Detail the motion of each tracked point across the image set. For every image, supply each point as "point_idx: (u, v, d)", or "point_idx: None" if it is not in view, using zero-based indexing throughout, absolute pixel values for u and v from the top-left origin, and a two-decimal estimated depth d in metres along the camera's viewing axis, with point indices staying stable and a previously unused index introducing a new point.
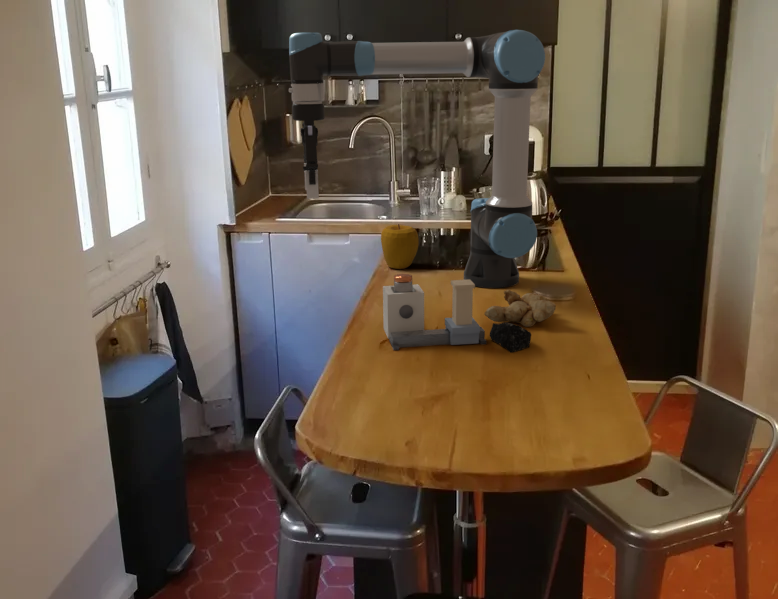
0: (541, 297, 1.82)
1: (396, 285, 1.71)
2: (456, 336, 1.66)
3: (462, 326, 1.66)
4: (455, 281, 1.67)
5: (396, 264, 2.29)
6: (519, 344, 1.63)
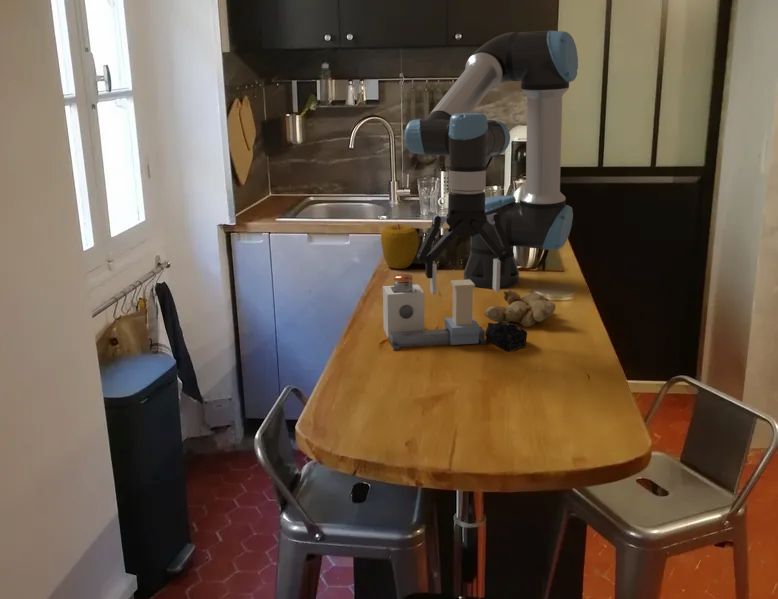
0: (541, 297, 1.82)
1: (396, 285, 1.71)
2: (456, 336, 1.66)
3: (462, 326, 1.66)
4: (455, 281, 1.67)
5: (396, 264, 2.29)
6: (515, 344, 1.64)
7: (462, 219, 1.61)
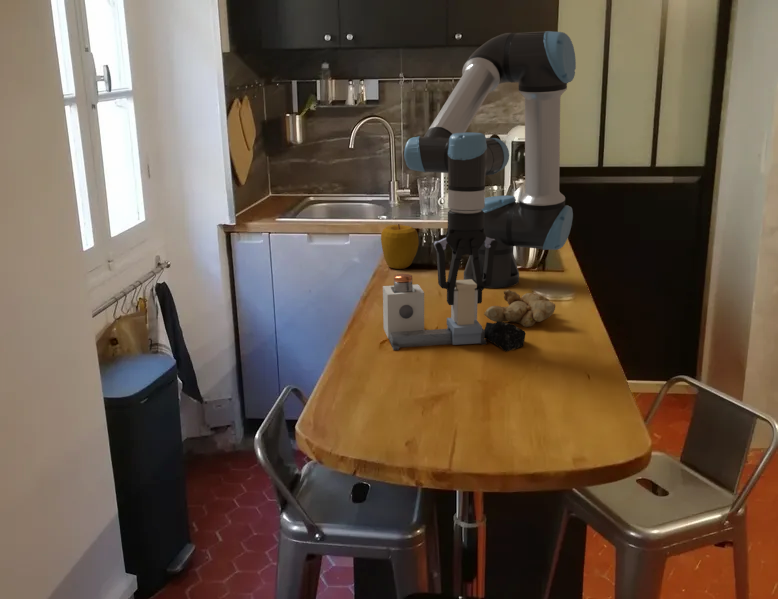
0: (541, 297, 1.82)
1: (396, 285, 1.71)
2: (458, 336, 1.66)
3: (464, 326, 1.66)
4: (457, 281, 1.67)
5: (396, 264, 2.29)
6: (513, 343, 1.64)
7: (460, 233, 1.62)
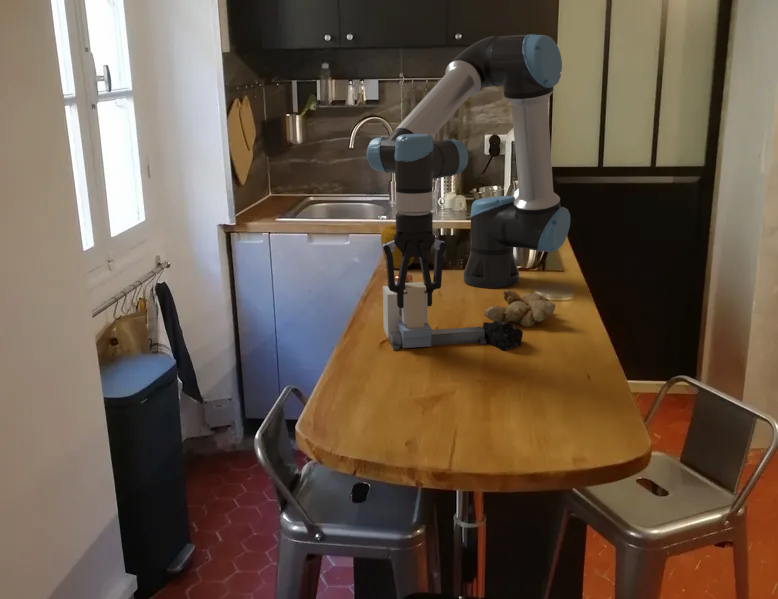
0: (541, 297, 1.82)
1: None
2: (408, 339, 1.65)
3: (414, 329, 1.64)
4: (407, 284, 1.65)
5: (396, 264, 2.29)
6: (511, 343, 1.64)
7: (408, 235, 1.60)
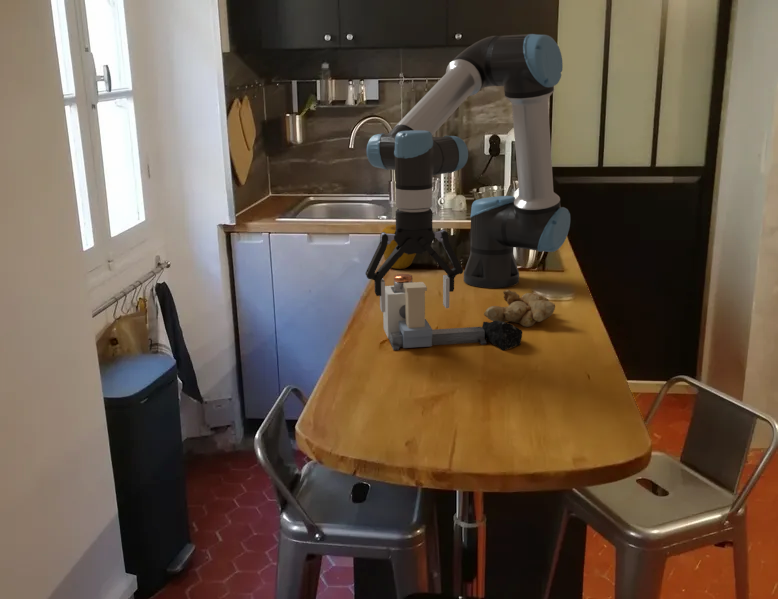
0: (540, 297, 1.82)
1: (396, 285, 1.71)
2: (408, 339, 1.65)
3: (414, 329, 1.64)
4: (407, 284, 1.65)
5: (396, 264, 2.29)
6: (510, 342, 1.65)
7: (409, 237, 1.60)
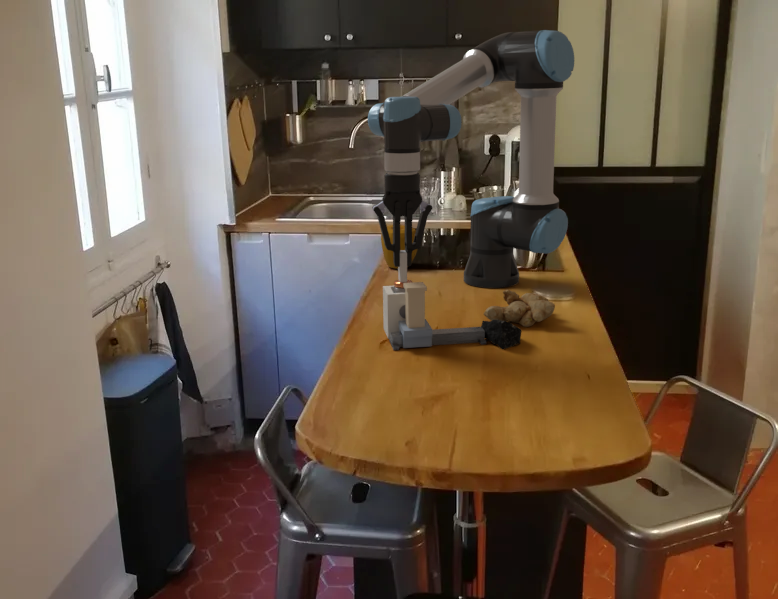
0: (540, 297, 1.82)
1: (396, 290, 1.71)
2: (408, 339, 1.65)
3: (414, 329, 1.64)
4: (407, 284, 1.65)
5: None
6: (510, 341, 1.65)
7: (395, 194, 1.66)
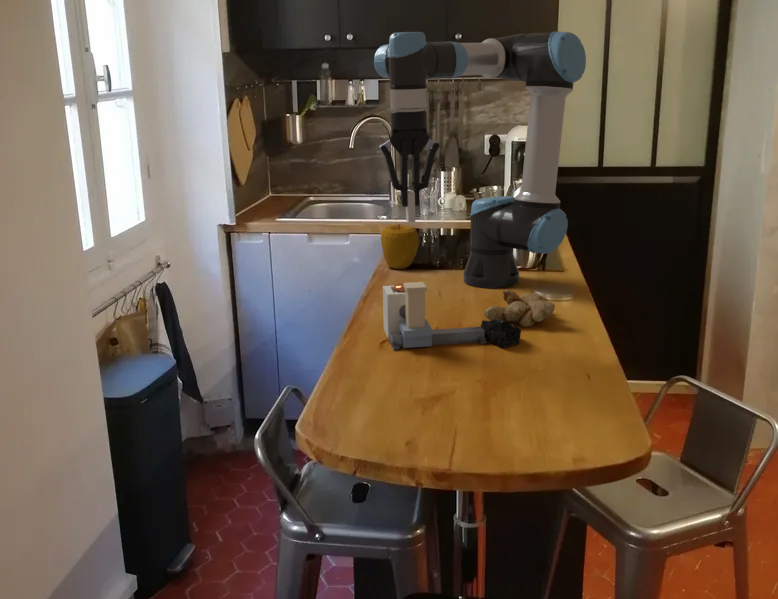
0: (540, 297, 1.82)
1: None
2: (408, 339, 1.65)
3: (414, 329, 1.64)
4: (407, 284, 1.65)
5: (396, 264, 2.29)
6: (509, 341, 1.66)
7: (402, 132, 1.65)
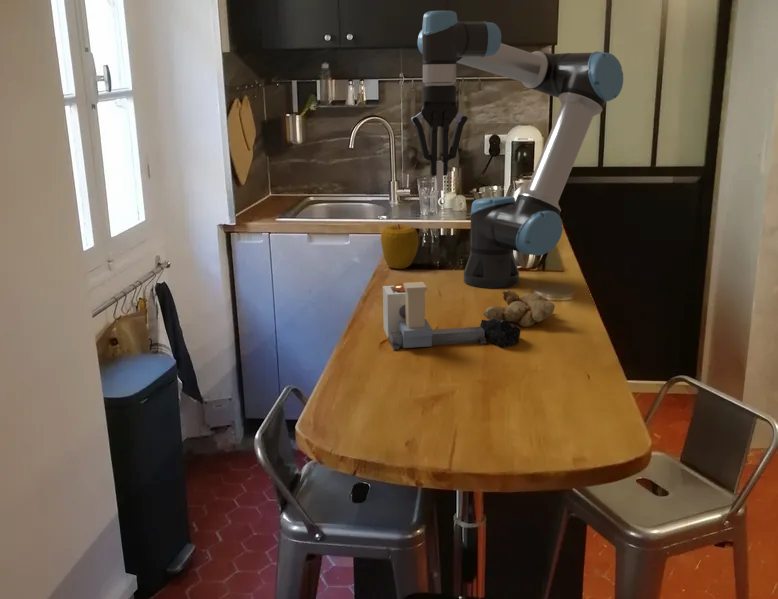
0: (540, 297, 1.82)
1: None
2: (408, 339, 1.65)
3: (414, 329, 1.64)
4: (407, 284, 1.65)
5: (396, 264, 2.29)
6: (509, 340, 1.66)
7: (433, 105, 1.76)
